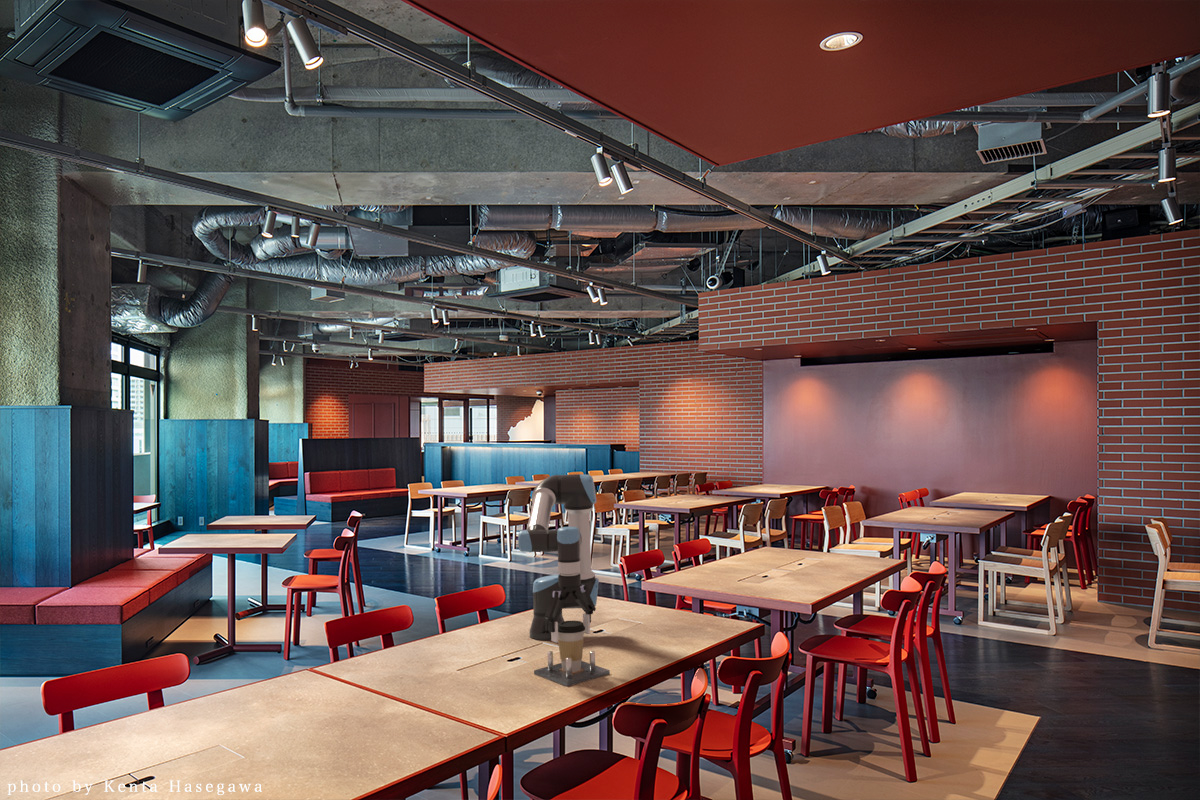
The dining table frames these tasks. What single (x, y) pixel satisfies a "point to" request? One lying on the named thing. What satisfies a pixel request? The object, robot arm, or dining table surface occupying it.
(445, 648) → the dining table surface
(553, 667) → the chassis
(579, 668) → the coffee cup
